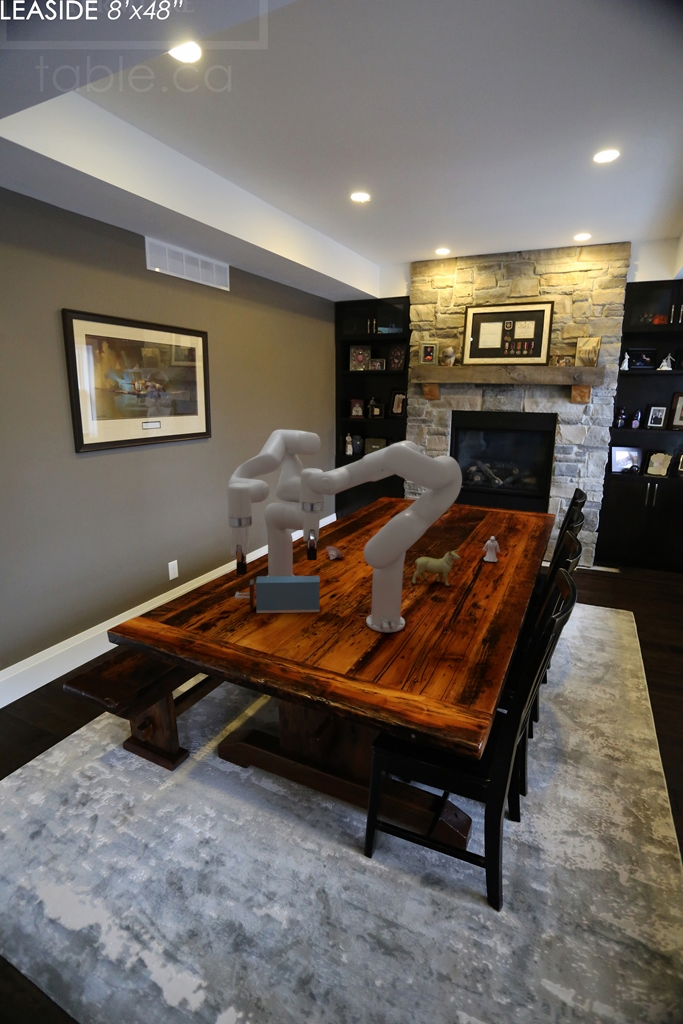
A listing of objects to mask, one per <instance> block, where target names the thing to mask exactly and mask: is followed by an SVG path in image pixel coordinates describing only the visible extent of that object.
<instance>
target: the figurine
mask: <svg viewBox="0 0 683 1024" xmlns="http://www.w3.org/2000/svg"><path fill="white" fill-rule="evenodd" d="M482 551H483V552H486V554H485V556H484V557H483V560H484V561H485V562H495V563H498V558H497V554H496V553H498V554H499V553H501V550H500V547H499V543H498V541H497V540H496V538H495V536H493V535H492V536H490V539H489V540H487V542H486V543H485V544H484V546H483V548H482Z"/></svg>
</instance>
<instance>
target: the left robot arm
mask: <svg viewBox="0 0 683 1024" xmlns="http://www.w3.org/2000/svg"><path fill="white" fill-rule="evenodd" d="M321 447H322V441H321V438H320V436H319V435H318V434H317V433H316V432H310V431H304V430H298V429H275V430H274V431H272V432H271V434H270V436H269V437H268V438H267V440H266V442H265V443H264V445H263V447H262V448H261V450H260V451H259V453H258V454H257V455H256V456H253V457H252V458H250V459H248V460H246V461H244V462H243V463H242V464H240V465H239V466H238V467H237V468H236V469H235V470H234V472H233V473H232V474H231V476H230V478H229V479H228V482H227V485H226V494H227V495H226V496H227V517H228V518H227V520H228V527H229V528H231V530H230V557H231V558H234V557H235V559H236V562H235V564H236V566H235V567H236V568H235V569H236V575H237V576H238V575H247V573H248V563H247V562H248V561H247V555H248V552H249V547H250V545H249V544H250V531H249V530H250V529H249V528H250V527H252V525H253V516H252V513H253V511H252V510H253V509H252V504H256V503H262V502H264V501H265V500H266V499H267V498H268V497H269V495H270V486H269V484H268V483H267V482H266V481H264V480H262V479H255V478H256V477H259V476H263V475H268V474H270V473H274V472H276V471H277V470H279V468H280V467H281V465H282V468H281V471H280V475H279V477H278V481H277V484H276V489H275V496H276V498H277V499H278V500H279V502H277V501H276V502H271V503H269V504H268V505H267V506H266V507H265V509H264V521H265V526H266V533H267V567H268V568H267V569H268V571H267V573H268V574H267V576H296V575H295V574H294V566H293V565H294V559H293V558H294V557H293V555H294V554H293V553H294V552H293V549H294V548H293V547H294V546H293V544H294V543H293V542H294V541H293V539H294V538H293V536H292V532H291V530H294V531H303V516H304V512H302V511H301V471H302V470H303V469H305V468H304V464H303V461H301V459H300V458H299V455H304V456H315V455H317V454H319V452H320V450H321Z"/></svg>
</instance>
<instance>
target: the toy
mask: <svg viewBox="0 0 683 1024" xmlns="http://www.w3.org/2000/svg"><path fill="white" fill-rule="evenodd" d="M457 552H459V549H455V550H452V551H447V552H446V553H445V554H444V556H443V557H442V558H433V557H428V556H421V557H418V558H417V559H416V560H415V567H416V571H414V572H413V577H412V582H411V583H412V584H413V585H417V581H416V580H417V578H418V576H419V575H420V576H421V577H422V578H423V580H424V581H427V580H428V577H427V575H426V574H425V573H428V574H431V575H437V577H436V580H435V581H436V582H437V583H441V580H440V579H441V577H442V578H443V580H444V584H445V587H448V588H449V587H451V585H450V583H449V582H448V575H449V574H450V572H451V571H452V568H453V566H454V561H460V560H461V556H459V555H458V554H457Z"/></svg>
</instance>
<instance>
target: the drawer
mask: <svg viewBox="0 0 683 1024" xmlns="http://www.w3.org/2000/svg"><path fill="white" fill-rule="evenodd" d="M248 587H249V590H248V591H249V592H239V591H236V592H235V594H234V600H239V599H249V610H250V611H253V610H254V609H255V605H256V591H255V579H250V580H249V585H248Z"/></svg>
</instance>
